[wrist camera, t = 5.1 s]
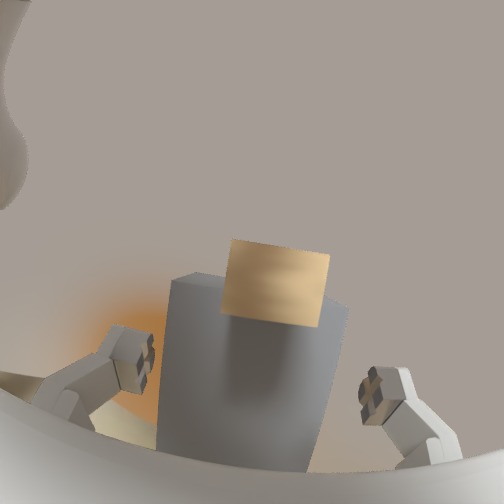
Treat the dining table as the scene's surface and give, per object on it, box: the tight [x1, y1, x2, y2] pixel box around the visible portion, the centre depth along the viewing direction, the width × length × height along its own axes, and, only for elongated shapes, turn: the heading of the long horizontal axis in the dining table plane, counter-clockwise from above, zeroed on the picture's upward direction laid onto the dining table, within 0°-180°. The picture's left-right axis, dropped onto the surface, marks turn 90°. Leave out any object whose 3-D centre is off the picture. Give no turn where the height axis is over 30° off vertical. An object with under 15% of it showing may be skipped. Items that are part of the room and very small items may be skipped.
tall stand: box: [156, 272, 349, 473], centre depth 25 cm, size 12×10×26 cm
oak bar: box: [220, 239, 330, 327], centre depth 24 cm, size 4×22×3 cm, turn 1°
